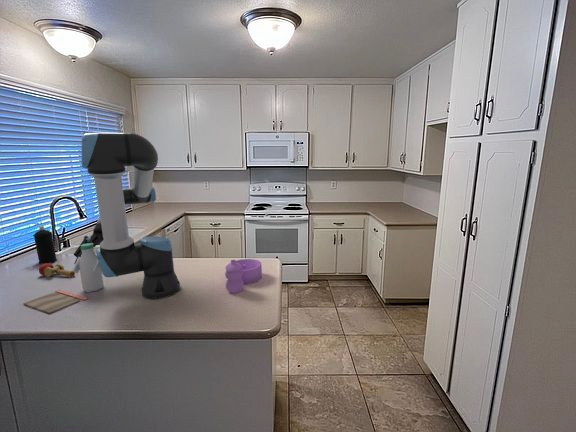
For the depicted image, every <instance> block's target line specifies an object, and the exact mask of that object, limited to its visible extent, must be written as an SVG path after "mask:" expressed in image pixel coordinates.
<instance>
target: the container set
mask: <svg viewBox="0 0 576 432" xmlns="http://www.w3.org/2000/svg"><path fill="white" fill-rule="evenodd" d="M262 267H263V266H262V262H261V261H260V260H258V259H255V258H254V259H252V258H243V259H242V258H241V259H237V260H236V259H231V260H230V262H229V263H228V264H226V265H225V273H224V276H225V278H226V279H227V280H226V282H225V289H226V290H227V291H228V292H229V293H231V294H237V293H241V291H242V290H243V289H244V286H245V285H250V284H251V285H252V284H254V283H257V282H259V281H261V279H262V278H263V271H262V270H263V268H262Z"/></svg>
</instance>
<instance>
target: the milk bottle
mask: <svg viewBox="0 0 576 432" xmlns="http://www.w3.org/2000/svg"><path fill="white" fill-rule="evenodd" d="M79 246H80V245H79ZM80 247H81V251H82V256H81V259H80V262H79V267H80V270H79V273H80V274H79V275H80V279H81V285H82V289H83V292H87V293H90V292H94V291H99V290H101V289H102V288H103V287H104V277H103V274H102V271H101V269H100V271H99V273H98V274H96V273H94V272H93V269H94V267H95V265H96V262H97V260H98V258H97V254H96V252H95V251H94V250H95V249H94V248H95V247H93V243H87V244H83V245H81V246H80Z"/></svg>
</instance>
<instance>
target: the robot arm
mask: <svg viewBox="0 0 576 432" xmlns="http://www.w3.org/2000/svg"><path fill="white" fill-rule="evenodd" d="M157 151H158V150H157V149H156V148H155V146H154V145H153V144H152V142H151V141H150V140H148V139H147V138H145V137H144V136H142V135H140V134H137V133H134V132H87V133H85V134H83V135H82V137H81V167H82V168H83V169H86V170H87V174H88V175H89V176H91V177H93V180H94V188H95V194H96V199H97V200H96V201H97V205H98V206H97V208H98V213H99V217H98V219H97V221H96V224H95V226H94V228H93V233H92V234H91V236H88V235H85V236H84V237H83V239H82V241H81V243H80V244H79V246H78V247H77V249H75V251H74V253H73V256H74V257H76V259H75V261H74V266H73V268H72V270H71V271H73V272H75V274H79V273H80V267H79V262H80V259H81V256H82V251H81V247H80V246H81V245H83V244H87V243H92V244H93V248H95V247H96V246H99V247H98V248H97V249H96V250H95V254H96V256H97V258H98V260H97V262H96V265H95V267H94V269H93V272H94V273H96V274H98V273H99V271H100V269H101V271H102V276H104V277H105V278H114V277H119V276H125V275H130V274H136V273H140V272H143V282H142V286H141V289H140V290H141V295H142V296H141V297H143V298H145V299H148V300H149V299H150V300H157V299H163V298H167V297H172V296H173V295H175V294H176V293H178V292H179V291H180V290H181V282H180V280H179V279H178V277H177V275H176V272H175V268H174V267H175V265H174V256H173V247H172V242H171V240H170V238H167V237H164V236H160V235H159V236H157V235H156V236H153V235H152V236H151V235H150V236H144V237H141V238H139V242H135V240H134V239H133V238H132V237H131V236H130V235H129V227H128V226H129V225H128V220H127V213H126V212H127V211H126V206H127V205H129V206H130V205H139V204H140V205H141V204H149V203H154V202H156V201H157V195H156V189H155V187H154V186H153V180H154V173H155V169H156V168H157V166H158V163H159V162H158V161H159V157H158V156H159V155H158V152H157ZM126 167H133V175H132V176H133V181H132V184H133V186H132V187H129V188H128V187H127V188H123V179H122V176H123V175H124V174H125V172H126Z"/></svg>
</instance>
